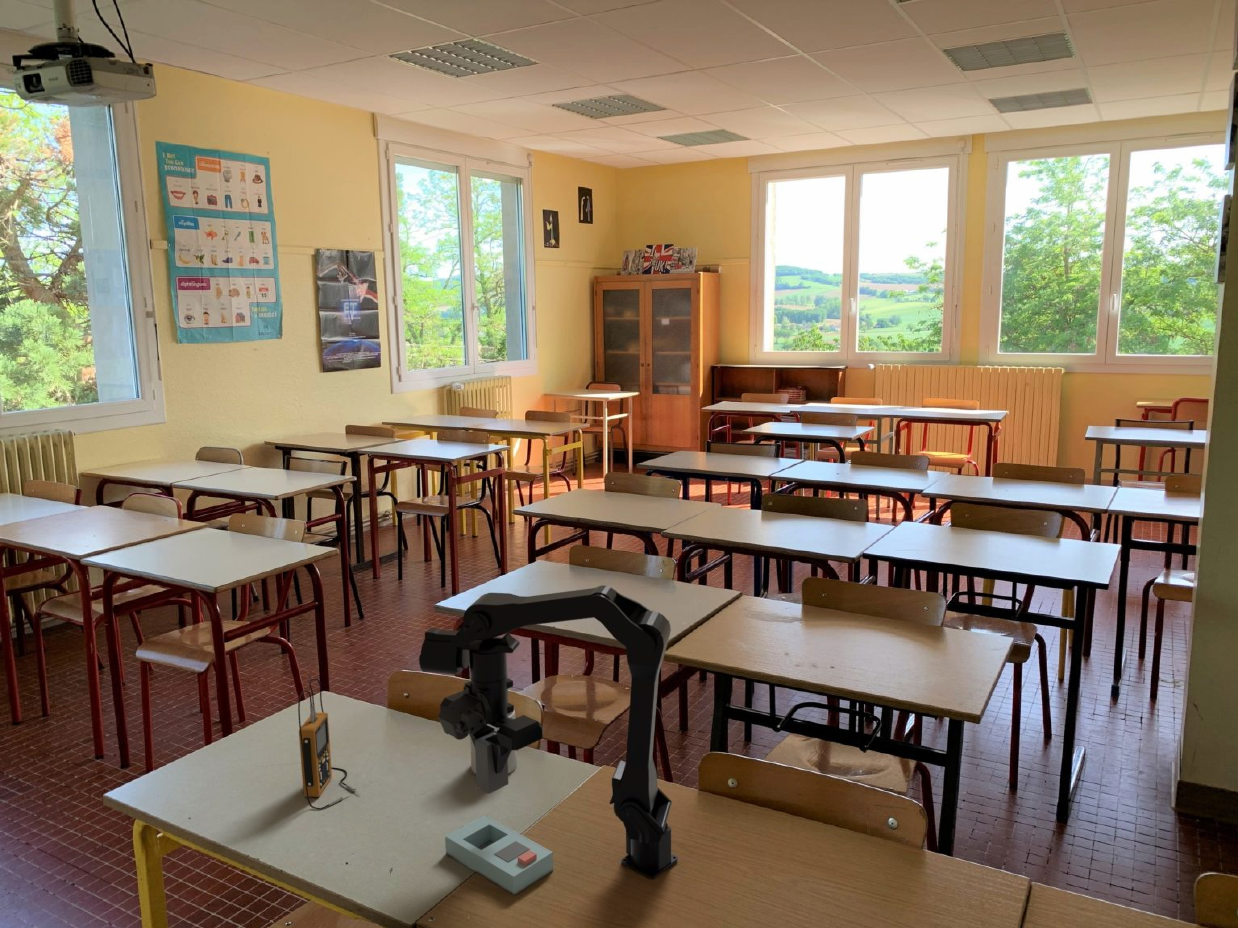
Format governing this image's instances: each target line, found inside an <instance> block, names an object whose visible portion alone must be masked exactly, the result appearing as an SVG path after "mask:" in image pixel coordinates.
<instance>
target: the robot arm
mask: <svg viewBox="0 0 1238 928" xmlns="http://www.w3.org/2000/svg"><path fill="white" fill-rule="evenodd" d="M585 619H595V620H597V621H598V622H600V623H601V624H602V625H603V627H604V628H605V629H606V631H608V632H609V634H610V635H611V636H612V637H613V638H614V639H615V640H616V641H618V643H620V644H622V645H623V646H624V647H625V654H626V661H627V666H628V669H629V673H630V677H631V680H630V681H631V682H630V683H631V684H630V696H629V697H630V699H629V710H628V711H629V713H628V725H627V726H628V727H627V741H626V753H625V761H623V760H618V764H617V766H616V768H615V770H614V773H613V775H612V777H611V788H612V795H611V798H610V800H609V805H613V812H614V816H615V817H616V818H618V819H619V820H620V821H621V822H622V823H623V826H624V828H625V853H626V854H627V855H626V856H624V857H622V858H621V859H620V863H621V864H622V865H623V866H626V867H627V868H629V869H631V870H633V871H635V872H636V873H639V874H641V875H643V876H645V877H647V878H648V879H651V880H653V879H656V878H657V877H658V876H659V875H661V874H662V873H663V872H664V871H666V870H667V869H668V868H670V867H671V866H673V865H674V864H675V863H677V862H678V859H679V857H678V856H677V855H675V854H673V853H672V828H671V827H670V826H669V824H668V823H667V821H668V818H669V815H670V811H671V807H672V800H671V799H670V798H669V797H668V796H667V795H666V794H665V793H664V792H663V791H662V790H661V789H660V788H659V786H658V775H657V769H656V766H655V762H654V758H653V752H654V738H655V725H656V714H657V713H656V712H657V700H658V690H659V689H658V687H659V675H660V671H661V666H662V663H663V661H664V657H665V654H666V652H667V651H666V650H667V647H668V643H669V638H670V635H671V631H672V629H671V628H672V627H671V623H670V620H668V619H667V617H665V615H663V614H662V613H661V612H658V611H656V610H650V609H649V608H647V607H646V606H644V605H643V604H641V603H640V602H638V601H637V600H635V599H633V598H630V597H627V596H625V595H623V594H622V593H619V592H618V591H617V590H615V589H614V588H613V587H611V586H609V585H602V584H601V585H599V586H597V587H596V586H595V587H592V588H584V589H576V590H569V591H567V590H566V591H561V592H553V593H545V594H538V595H529V596H525V595H524V596H522V595H521V596H519V595H516V594H513V593H509V592H508V593H507V592H506V593H505V592H487V593H484V594H483V595H481V596H480V597H478V599H476V600H475V601H474V602H472V603H471V604H470V606H468V607H467V608H466V610H465V611H464V613H463V617H462V622H463V624H462V626H461V627H460V628H459V629H458V630H447V629H446V630H445V629H440V628H434V627H432V628H431V627H430V628H429V629H428V630H426V631H425V632H424V640H423V642H422V646H421V649H420V654H419V656H418V663H419V669H420V670H421V671H422V672H423V673H432V674H443V675H445V674H447V675H461V673H462V671H464V669H465V670H466V669H468V666H469V679H470V680H469V681H467V682H464V686H463V688H462V689H463V690H461V691H458V692H456V693H453V694H450V695H449V696H445V697H444V698H443V699H442V701H441V702H440V704H439V705H440V707H439V708H440V709H439V710H440V712H439V713H438V715H437V717H438V720H439V722H440V725H441V727H442V729H443V732H444V733H445V734H446V735H449V736H452V737H454V738H455V739H456V740H458V741H461V740H463V739H466V738H467V737H468V736H469V738H470V737H471V739H472V742H473V744H474V747H475V740H476V739H478V738H481V737H483V736H485V735H487V734H490V733H492V732H494V730H495V732H494V735H492V736H490V737H488V738H486V739H485V741H487V742H488V743H489V744H491V745H492V753H493V762H494V769H495V773H497V774H498V773H500V772H502V770H503V768H504V766H505V764H506V762H507V759H508V757H509V755H510V753H511V751H512V750H516V751H519V750H521V749H523V748H525V747H527V746H530V745H532V744H534V743H536V742H539V741H540V740H542V739H543V736H544V730H543V723H541V722H539V721H538V720H536V719H534V718H532V717H529V716H527V715H524V714H523V715H519V716H518V717H516V716H515V717H510V718H508V717H507V714H509V713H511V712H513V711H514V710H515V705H514V704H513V703H509V697H508V696H509V692H508V691H509V689H510V688H513V687H514V680H512V679H510V678H508V664H507V663H508V660H507V659H508V658H507V657H508V656H507V654H513V653H514V652H515V651H516V649H517V648H518V647H519V646H520V645H521V643H520V641H519V640H518V639H516V638H515V637H513V636H512V635H511V633H510V632H512V631H515V630H517V629H520V628H523V627H527V626H534V625H535V626H537V625H542V624H543V625H544V624H545V625H546V624H552V623H560V622H561V623H562V622H569V621H576V620H578V621H579V620H585ZM501 636H502V637H501Z"/></svg>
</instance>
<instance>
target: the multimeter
mask: <svg viewBox="0 0 1238 928" xmlns="http://www.w3.org/2000/svg"><path fill="white" fill-rule="evenodd" d="M312 681H317V682H318V684H319V700H320V701H319V702H320V708H321V712H316V708H315V707H316V706H315V700H314V699H315V698H314V691H313V688H312V685H311V684H312ZM308 684H309V688H310V691H308V690H307V689H305V690H303V691H301V692H300V694H299V698H298V705H297V706H298V708H297V709H298V710H297V712H298V715H297V716H298V726H299V730H298V736H299V737H298V738H299V740H298V742H299V751H300V765H301V766H300V767H301V778H302V788H303V796H304V798H307V802H308V804H309V807H311V808H312V809H315V810H323V809H326V808H328V807H330V806H332V805H334V804H336V803H338V802H340V801H343V799H344V798H346V797H348V796H350V795H351V793H348V794H345V795H344V796H340V797H339V798H336V799H334V800H333V801H330V802H329V803H328V804H327V805H324V806H322V807H316V806H313V805H312V803H311V801H310V798H319V797H320V796H322V793H323V791H324V790H325V789H326V787H327V785H328V783H329V782H330V781H331V780H332V778H333V777H332V776H333V774H332V769H334V770H339V771H343V772H344V773H345V776H344V777H342V778H341V779H340V781H339V782H340V784H342V785H343V786H345V787H346V788H347V789H349V790H351V791H352V792H353V793H358V795H362V794H361V793H360V791H358V790H357V788H354V787H353V786H352V785H349V784H347V783H344V782H343V781H344V780H345V779H346V778H348V777H347V776H348V772H347V770H345V769H344V768H340V767H333V766H332V757H331V755H332V754H331V742H330V740H331V739H330V730H329V729H330V727H329V714H328V712H324V708H323V707H324V706H323V701H322V683H321V681H320V679H318V678H311V679H310V680H309V682H308ZM305 692H306V693H307V694H308V695H309V704H310V705H309V707H310V708H309V709H310V714H309V717H308V718H307V719H306V720H305V721H304V723H303V724H302V725H301V723H302V722H301V709H300V708H301V698H302V696H303V693H305Z"/></svg>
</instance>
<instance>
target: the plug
mask: <svg viewBox="0 0 1238 928" xmlns="http://www.w3.org/2000/svg"><path fill="white" fill-rule="evenodd" d="M494 732H495V731H494ZM494 732H492V733H490V734H487V735H485V736H483V737H481V738H478V739H476V740H475V757H476V774H475V777H476V778H475V780H476V788H477V789H479V790H481V791H483V792H484V793H486V794H489V795H490V794H492V793H493V792H495V791H497V790H499V789H501V788H504V787H506V786H507V785H509V774H508V759H507V762H506V764H505V766H504V768H503V770H502V772H500V773H498V774H497V773H495V769H494V762H493V753H492V745H491V744H489V743H488V742H487V741H485V739H486V738H488V737H490V736H492V735H494Z"/></svg>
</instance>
